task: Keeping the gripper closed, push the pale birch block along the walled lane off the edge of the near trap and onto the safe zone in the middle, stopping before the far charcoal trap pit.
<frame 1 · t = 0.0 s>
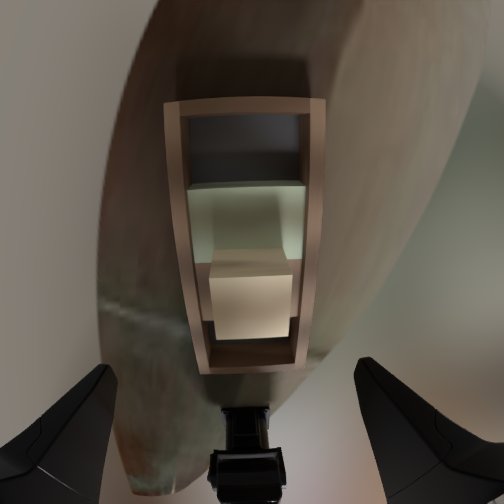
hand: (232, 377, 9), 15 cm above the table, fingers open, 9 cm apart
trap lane: (247, 247, 23), on the table
block: (249, 278, 21), point 2 cm above the table, touching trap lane
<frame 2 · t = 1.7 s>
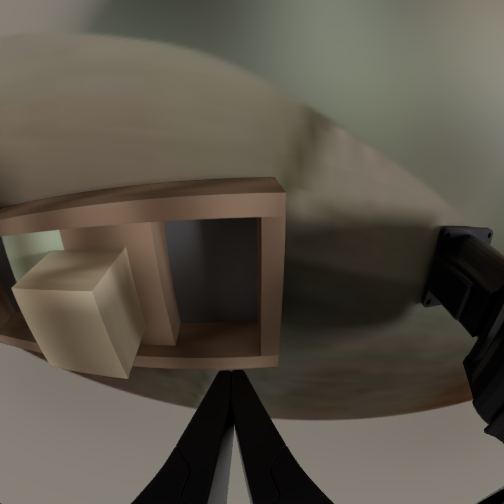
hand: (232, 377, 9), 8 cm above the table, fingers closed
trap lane: (93, 268, 16), on the table
block: (96, 289, 13), point 2 cm above the table, touching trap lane
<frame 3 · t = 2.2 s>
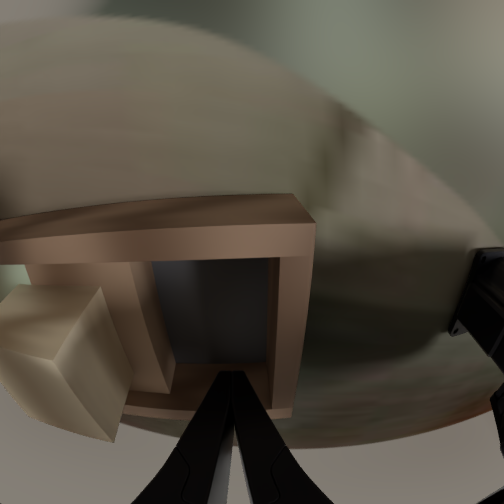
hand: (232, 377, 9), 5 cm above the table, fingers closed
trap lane: (71, 300, 12), on the table
block: (73, 331, 10), point 2 cm above the table, touching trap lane
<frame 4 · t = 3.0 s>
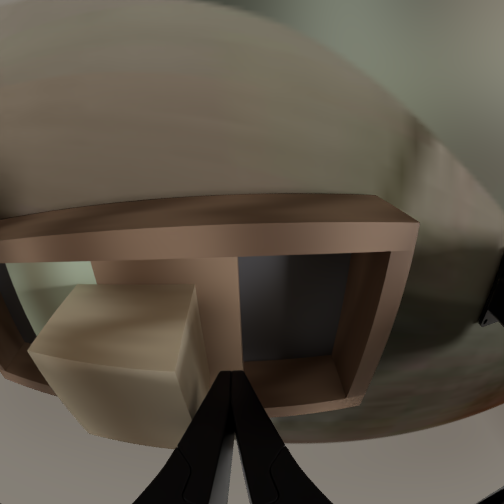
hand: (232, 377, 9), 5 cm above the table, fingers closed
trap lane: (130, 300, 13), on the table
block: (144, 335, 11), point 3 cm above the table, touching gripper, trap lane
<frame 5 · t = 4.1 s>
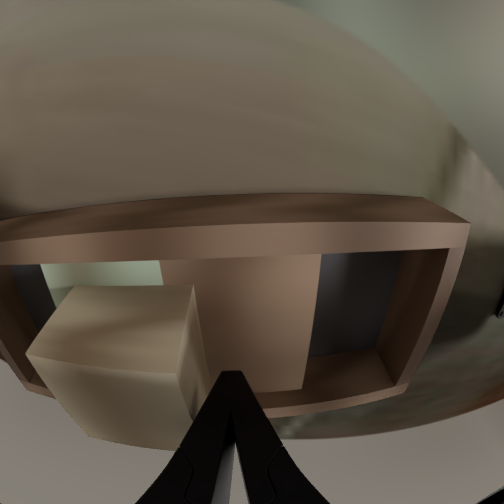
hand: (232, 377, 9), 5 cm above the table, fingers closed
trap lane: (183, 302, 13), on the table
block: (143, 336, 10), point 2 cm above the table, touching gripper, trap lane
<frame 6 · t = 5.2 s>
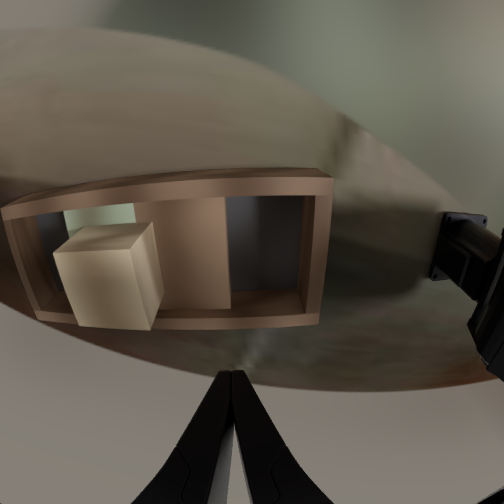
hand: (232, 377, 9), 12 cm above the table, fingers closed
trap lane: (152, 243, 19), on the table
block: (123, 259, 17), point 2 cm above the table, touching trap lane
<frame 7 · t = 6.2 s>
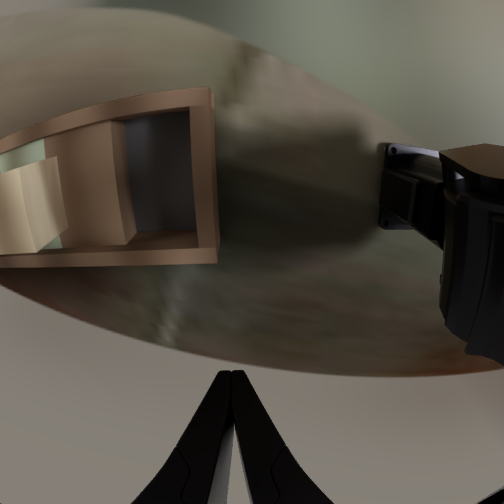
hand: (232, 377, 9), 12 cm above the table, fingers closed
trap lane: (68, 186, 17), on the table
block: (37, 197, 15), point 2 cm above the table, touching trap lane
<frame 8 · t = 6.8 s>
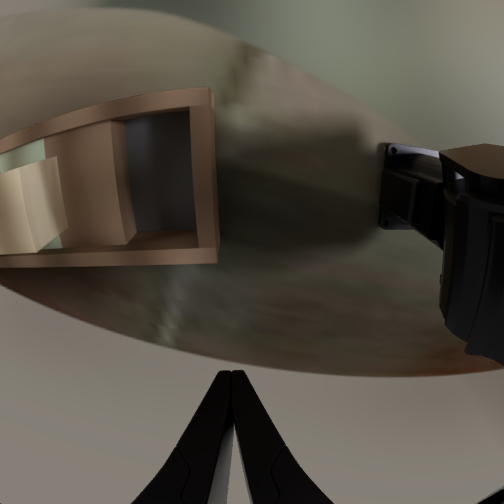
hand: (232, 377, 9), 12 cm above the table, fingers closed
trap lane: (68, 186, 17), on the table
block: (37, 197, 15), point 2 cm above the table, touching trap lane
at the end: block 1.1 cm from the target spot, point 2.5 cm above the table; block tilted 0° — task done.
